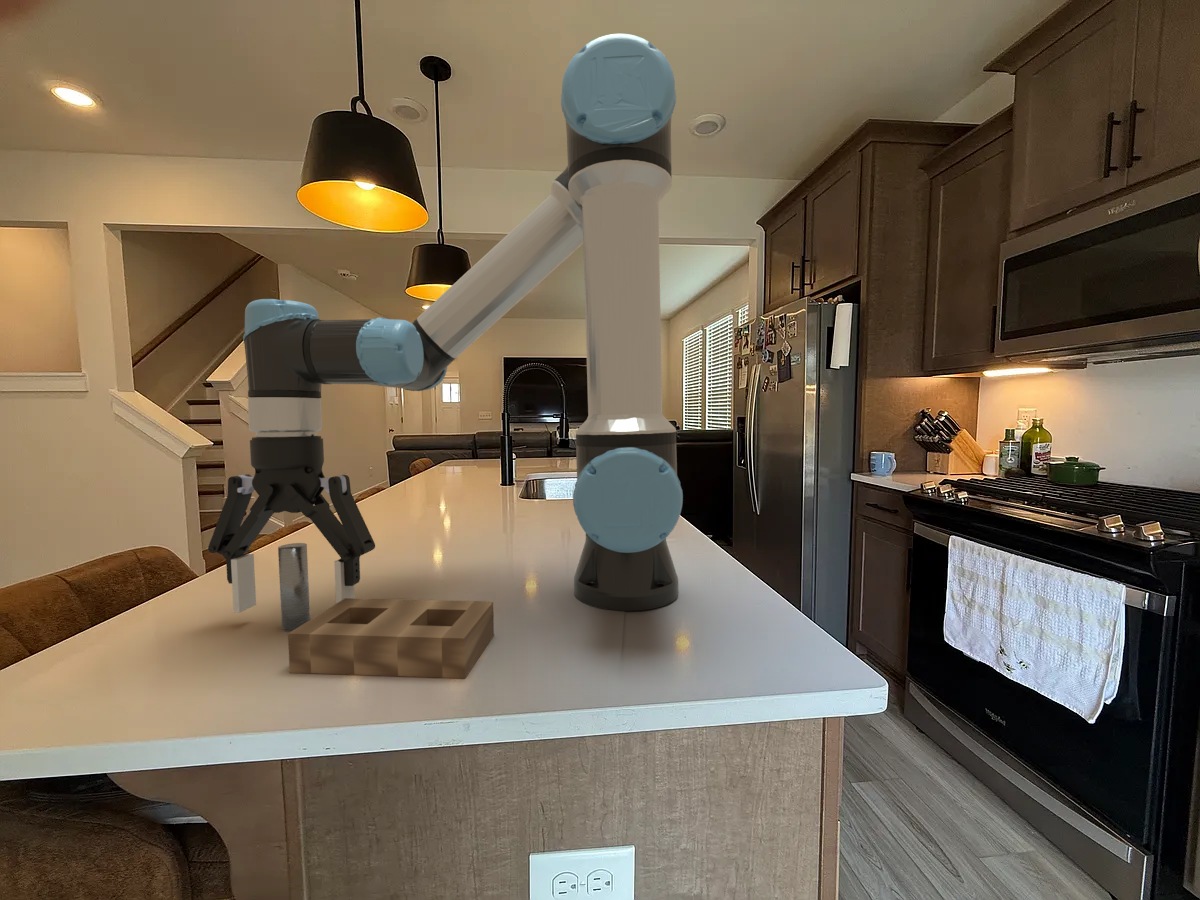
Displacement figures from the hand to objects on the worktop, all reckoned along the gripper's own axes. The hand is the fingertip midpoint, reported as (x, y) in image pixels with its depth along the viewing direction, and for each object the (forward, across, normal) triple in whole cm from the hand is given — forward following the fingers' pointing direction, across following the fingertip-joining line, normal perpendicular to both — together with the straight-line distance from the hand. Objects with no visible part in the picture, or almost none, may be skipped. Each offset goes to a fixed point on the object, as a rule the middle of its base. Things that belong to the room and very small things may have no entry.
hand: (295, 610), depth 63 cm
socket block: (+2, -16, +6) cm, 17 cm away
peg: (+2, 0, 0) cm, 2 cm away
